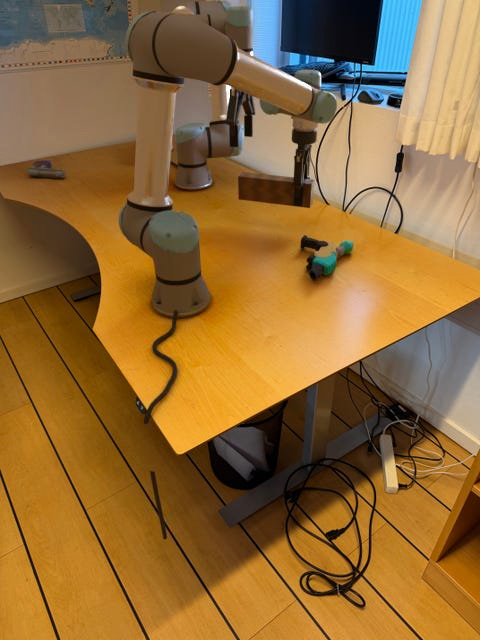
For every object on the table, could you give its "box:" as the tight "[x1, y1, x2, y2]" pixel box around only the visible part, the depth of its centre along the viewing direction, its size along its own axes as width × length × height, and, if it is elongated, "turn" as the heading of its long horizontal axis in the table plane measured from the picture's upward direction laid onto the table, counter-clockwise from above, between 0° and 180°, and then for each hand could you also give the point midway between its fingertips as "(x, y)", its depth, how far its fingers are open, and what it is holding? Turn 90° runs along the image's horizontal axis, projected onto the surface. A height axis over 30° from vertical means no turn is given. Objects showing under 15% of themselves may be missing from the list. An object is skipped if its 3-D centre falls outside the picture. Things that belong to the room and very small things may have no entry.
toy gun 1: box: [26, 159, 67, 179], centre depth 208 cm, size 4×19×15 cm
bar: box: [237, 171, 316, 209], centre depth 156 cm, size 24×4×8 cm, turn 71°
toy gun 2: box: [299, 234, 355, 282], centre depth 140 cm, size 4×26×15 cm
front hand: (299, 202), depth 156 cm, fingers closed on bar, 4 cm apart
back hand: (241, 141), depth 154 cm, fingers open, 13 cm apart
